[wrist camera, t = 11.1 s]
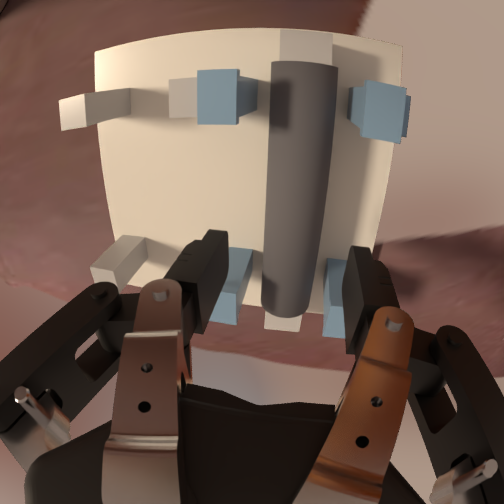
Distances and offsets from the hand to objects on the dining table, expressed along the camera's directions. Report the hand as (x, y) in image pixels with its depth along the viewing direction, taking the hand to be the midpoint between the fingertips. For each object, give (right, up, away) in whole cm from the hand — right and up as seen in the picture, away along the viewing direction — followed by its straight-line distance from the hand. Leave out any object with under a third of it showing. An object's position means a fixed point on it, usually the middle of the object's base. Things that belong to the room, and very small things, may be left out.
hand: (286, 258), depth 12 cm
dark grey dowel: (+2, +4, +7) cm, 9 cm away
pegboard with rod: (-3, +5, +8) cm, 10 cm away
